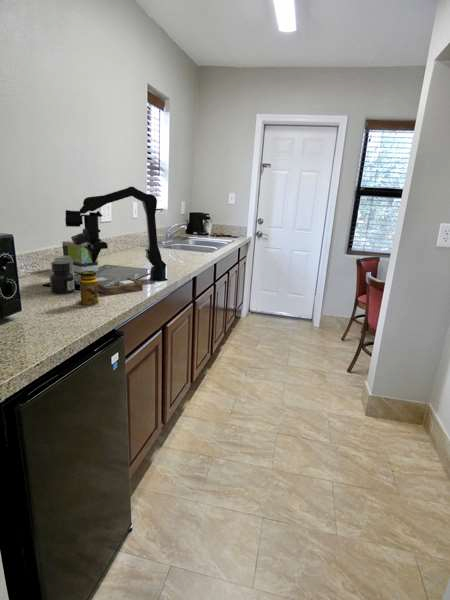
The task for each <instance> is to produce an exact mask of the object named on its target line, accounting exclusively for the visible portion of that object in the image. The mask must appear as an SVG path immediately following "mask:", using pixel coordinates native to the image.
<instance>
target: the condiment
mask: <svg viewBox="0 0 450 600" xmlns="http://www.w3.org/2000/svg"><path fill="white" fill-rule="evenodd" d="M79 275H80V277H79V278H80V279H79V287H80V289H79V290H80V291H79V293H80V299H76V301H75V304H74V305H73V307H74V308H75V307H88V308H89V307H90V308H91V307H99V305H100V304H101V299H100V300H99V291H98V281H97V279H96V278H97V271H96V272H94V271H83V272H81V273H79Z"/></svg>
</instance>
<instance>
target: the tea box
mask: <svg viewBox="0 0 450 600" xmlns="http://www.w3.org/2000/svg"><path fill="white" fill-rule="evenodd" d="M83 246H85V243H82V244H80V245H76V244H74V243H73V241H72V240H66V241H64V240H63V241H62V255H66V256H71V259H72V260H73V269H74V273H79V274H80V273H81V272H83V271H94V272H96V273H97V272H98V271H99V264H98V263H99V260H98V259H99V258H98V257H99V256H98V257H97V259H96V261H95V262H92V260H91V257H90V254H89V252H88V250H87V249H86V248H85V247H83Z"/></svg>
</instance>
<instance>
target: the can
mask: <svg viewBox="0 0 450 600" xmlns="http://www.w3.org/2000/svg"><path fill="white" fill-rule="evenodd" d="M54 261H69V262H70V268H71V269H70V270H71V271H70V272H71V274H73V275H74V276H75V272H74V269H73V260H72V259H71V256H66V255H63V254H62V255H56V256H55V259H53V262H54Z"/></svg>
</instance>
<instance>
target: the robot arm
mask: <svg viewBox="0 0 450 600" xmlns="http://www.w3.org/2000/svg"><path fill="white" fill-rule="evenodd" d="M130 197H133V198H135V199H136V200H138V201H140V202H141V203H142V207H143V210H144V212H145V218H146V229H147V241H148V248H144V250H145V258H146V260H147V261H148V262H149V263H150V264H151V266H150V272H149V273H150V277H149V279H150V280H152V281H154V282H160V281H168V278H166V277H167V276H166V275H167V270H166V269H167V268H166V267H167V264H166V263H165V262H164V261H163V259H162V255H161V252H160V249H159V246H158V233H157V224H156V221H157V220H156V214H157V213H156V212H157V205H158V199H157V197H156V196H155V195H153V194H151V193H146V192H144V191H141V190H139V189H137V188H136V187H135V186H128V187H126V188H123V189H120V190H116V191H113V192H109V193H107V194H103V195H96V196H95V195H94V196H88V197H85V198H84V199H83V202H82V204H83V205H82V207H81V208H79V210H70V209H69V210H68V209H66V210H64V211H65V218H64V219H65V220H64V221H65V227H69V228H70V227H72V228H75V227H77V228H78V227H79V228H80V227H81V225H83V224H84V228H82V232H80V233H78V234H75V235H73V236H71V241H73V243H74V244H76V245H80V244H82V243H85V246H83V247H85V248H86V249H87V250H88V252H89V254H90V257H91V260H92V262H95V261H96V259H97V257H99V254H100V252H101V250H105V249H109V246H108V243H107V242H106V241H104V240H102V239H101V238H100V233H101V229H100V227H99V218H100V217H101V218H102V217H103V214H102V213H101V212H100V211H99V209H100V208H102V207H104V206H106V205H108V204H110V203H114V202H118V201H120V200H123V199H126V198H130ZM96 210H97V211H96ZM94 211H96V212H94ZM88 212H89V214H86V213H88Z"/></svg>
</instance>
